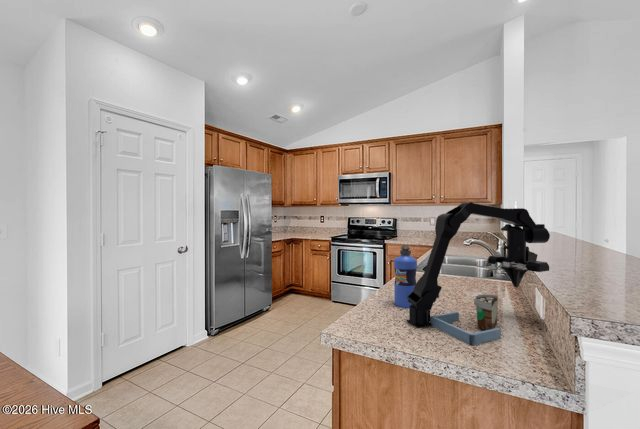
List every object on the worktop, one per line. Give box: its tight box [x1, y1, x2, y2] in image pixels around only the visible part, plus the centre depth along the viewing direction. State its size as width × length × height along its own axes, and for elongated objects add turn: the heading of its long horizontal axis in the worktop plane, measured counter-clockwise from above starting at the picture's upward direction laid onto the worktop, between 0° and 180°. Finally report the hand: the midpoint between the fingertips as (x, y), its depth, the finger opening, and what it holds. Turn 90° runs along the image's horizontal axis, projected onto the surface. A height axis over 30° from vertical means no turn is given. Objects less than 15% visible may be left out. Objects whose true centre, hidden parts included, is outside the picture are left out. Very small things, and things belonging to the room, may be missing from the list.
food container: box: [473, 294, 499, 331], centre depth 101 cm, size 12×6×10 cm, turn 141°
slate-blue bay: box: [430, 311, 502, 347], centre depth 97 cm, size 12×17×3 cm
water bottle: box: [393, 244, 418, 309], centre depth 125 cm, size 9×9×25 cm
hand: (516, 286), depth 107 cm, fingers closed
